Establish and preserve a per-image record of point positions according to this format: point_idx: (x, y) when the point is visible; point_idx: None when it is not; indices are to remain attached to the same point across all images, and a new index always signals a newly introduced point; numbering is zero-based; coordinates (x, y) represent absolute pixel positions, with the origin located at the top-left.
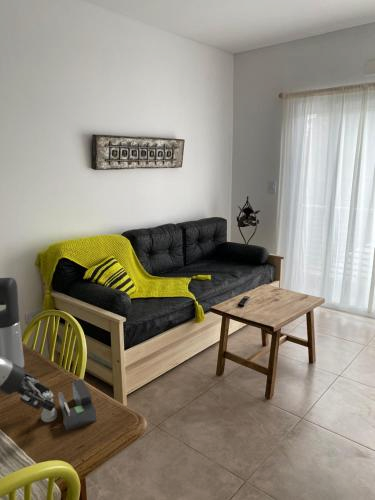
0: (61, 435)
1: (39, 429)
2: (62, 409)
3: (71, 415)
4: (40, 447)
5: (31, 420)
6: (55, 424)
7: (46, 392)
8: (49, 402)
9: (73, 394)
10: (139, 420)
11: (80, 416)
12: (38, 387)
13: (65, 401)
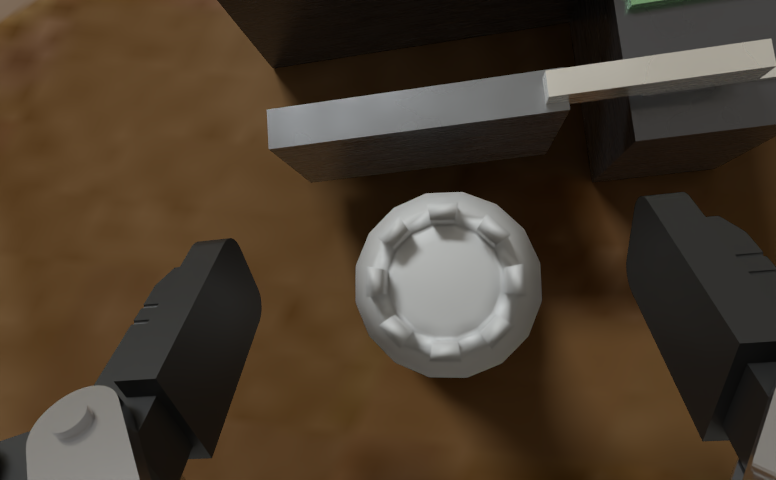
0: (764, 218)
1: (590, 396)
2: (460, 159)
3: None
4: None
5: (421, 450)
6: (575, 251)
7: (387, 286)
8: (735, 268)
9: (262, 39)
10: None
11: None
12: (191, 401)
13: (499, 82)
